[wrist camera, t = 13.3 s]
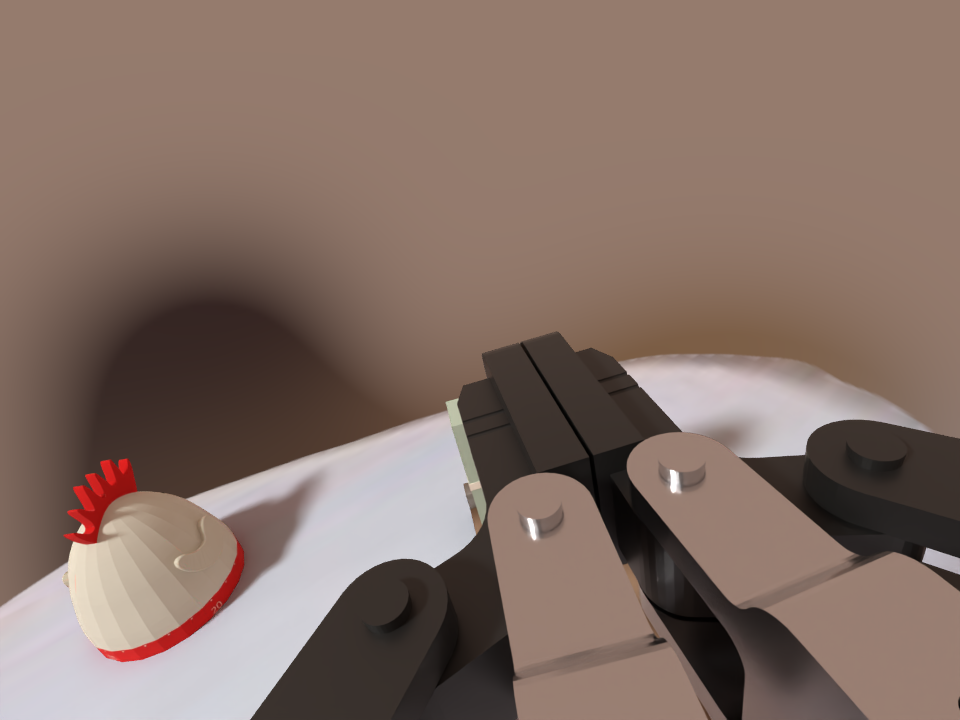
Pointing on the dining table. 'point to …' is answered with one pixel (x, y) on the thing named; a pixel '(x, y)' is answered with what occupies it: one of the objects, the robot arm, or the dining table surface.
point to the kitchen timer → (145, 566)
